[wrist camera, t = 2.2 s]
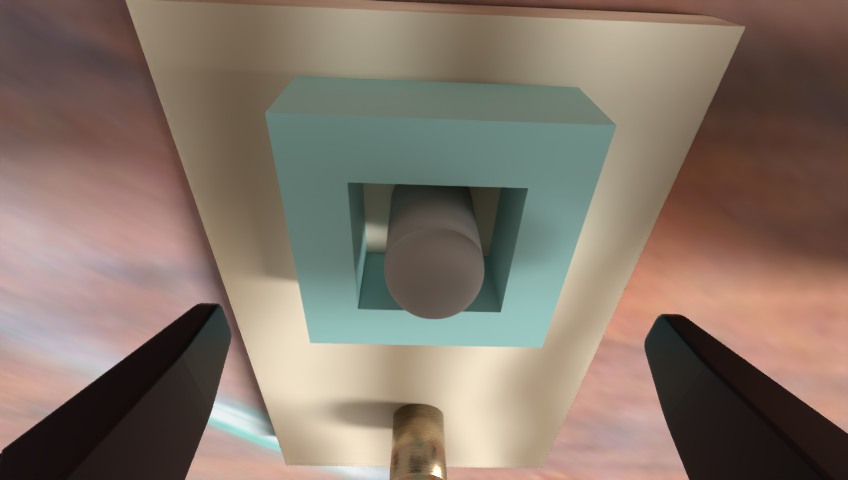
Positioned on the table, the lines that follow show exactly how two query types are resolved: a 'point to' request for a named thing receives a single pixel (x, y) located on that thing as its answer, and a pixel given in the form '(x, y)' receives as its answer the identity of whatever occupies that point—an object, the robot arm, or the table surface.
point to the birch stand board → (422, 48)
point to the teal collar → (434, 165)
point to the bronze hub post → (418, 444)
